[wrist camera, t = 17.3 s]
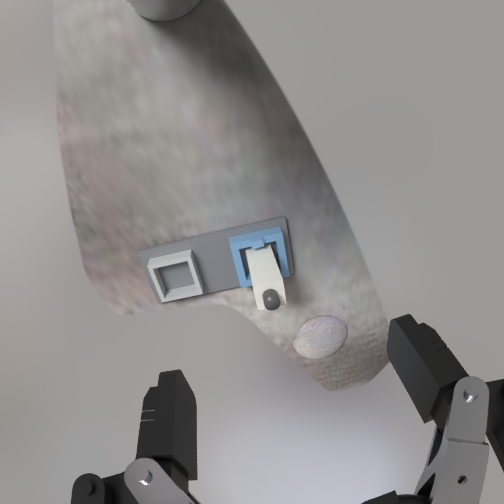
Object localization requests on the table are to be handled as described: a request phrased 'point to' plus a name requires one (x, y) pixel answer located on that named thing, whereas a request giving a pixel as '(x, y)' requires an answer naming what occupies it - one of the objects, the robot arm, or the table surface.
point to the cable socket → (213, 260)
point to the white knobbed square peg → (265, 277)
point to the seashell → (320, 337)
